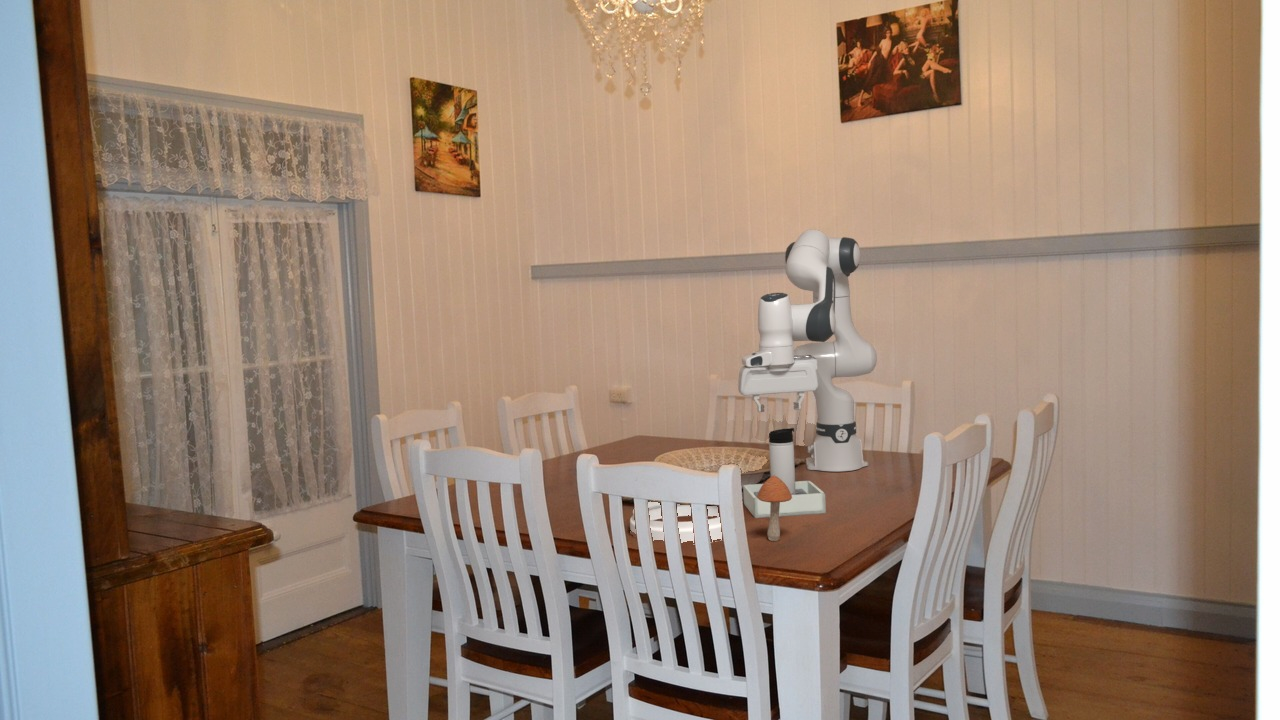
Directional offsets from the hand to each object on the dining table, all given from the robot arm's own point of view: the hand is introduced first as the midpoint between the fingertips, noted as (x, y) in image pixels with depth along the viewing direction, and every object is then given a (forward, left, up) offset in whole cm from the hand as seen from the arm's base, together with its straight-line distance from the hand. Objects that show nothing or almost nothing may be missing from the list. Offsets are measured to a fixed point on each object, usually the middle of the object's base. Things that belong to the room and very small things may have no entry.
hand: (779, 410), depth 243 cm
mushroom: (+29, -8, -26) cm, 40 cm away
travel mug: (0, 0, -25) cm, 25 cm away
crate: (0, 0, -26) cm, 26 cm away
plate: (+14, -27, -26) cm, 40 cm away
